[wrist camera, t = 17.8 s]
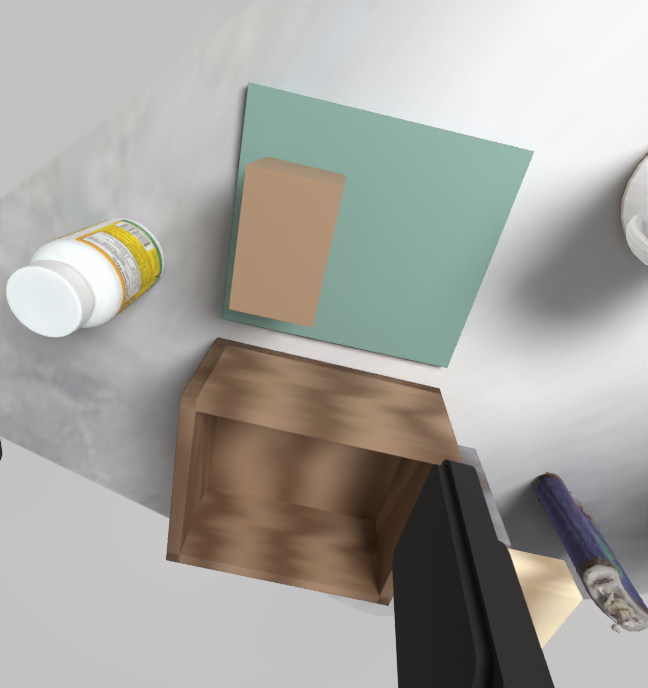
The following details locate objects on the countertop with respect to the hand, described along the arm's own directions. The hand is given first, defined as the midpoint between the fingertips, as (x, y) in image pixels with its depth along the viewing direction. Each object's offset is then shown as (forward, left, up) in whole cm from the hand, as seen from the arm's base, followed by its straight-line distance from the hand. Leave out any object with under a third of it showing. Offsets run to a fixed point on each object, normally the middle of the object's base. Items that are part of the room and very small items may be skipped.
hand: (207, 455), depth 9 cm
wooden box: (-6, +18, -23) cm, 30 cm away
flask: (-28, +19, -23) cm, 41 cm away
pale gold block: (-19, +18, -13) cm, 29 cm away
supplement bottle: (+12, +5, -23) cm, 26 cm away
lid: (-4, 0, -23) cm, 24 cm away
